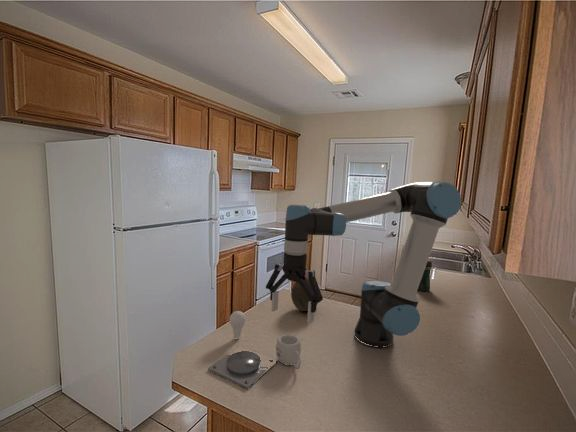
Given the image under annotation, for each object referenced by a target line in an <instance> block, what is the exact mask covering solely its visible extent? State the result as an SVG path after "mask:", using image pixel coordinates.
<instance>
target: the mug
mask: <svg viewBox="0 0 576 432" xmlns="http://www.w3.org/2000/svg"><path fill="white" fill-rule="evenodd" d="M301 343H302V342H301V340H300V337H298V336H296V335H295V334H290V333H289V334H282V335H280V336H279V337H278V338H277V340H276V345H275V353H276V357H277V361H278V362H279V361H280V362H281V363H283V364H287V365H291V364H293V365H291V366H294V368H295V369H297V370H300V368H301V363H302V361H301V356H300V355H301V351H302V344H301ZM280 362H279V363H280ZM297 362H298V363H297ZM281 363H280V364H281ZM296 363H297V364H296ZM283 364H282V365H283Z"/></svg>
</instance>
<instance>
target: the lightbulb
mask: <svg viewBox="0 0 576 432" xmlns="http://www.w3.org/2000/svg"><path fill="white" fill-rule="evenodd" d="M229 323H230V325H231V328H232V333H233V338H234V339H235V338H239V337H240V338H241V335H242V334H241V333H242V330H243V327H244V325H245V323H246V315H245V313H243V312H242V311H241V310H236V311H233V312H232V313H231V315H229ZM240 338H239V339H240Z"/></svg>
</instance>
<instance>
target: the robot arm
mask: <svg viewBox="0 0 576 432" xmlns="http://www.w3.org/2000/svg"><path fill="white" fill-rule="evenodd" d="M461 204H462V197H461V194H460V193H459V189H458V188H457V187H456V186H455V185H453V184H452V183H449V182H443V181H418V182H413V183H409V184H405V185H402V186H397V187H395V188H391V189H389V190H388V191H387V192H385V193H379V194H376V195H372V196H369V197H368V196H367V197H364V198H359V199H354V200H350V201H345V202H340V203H337V204H332V205H328V206H324V207H323V206H322V207H319V208H316V207H313V208H311V207H310V206H309V205H307V204H306V205H303V204H289V205H287V207H286V214H285V222H284V223H285V224H284V225H285V226H284V227H285V228H284V245H283V251H284V253H283V260H282V261H283V264H282V262H279V263H276V264H275V265H274V270H273V272H272V274H271V276H270V277H269V280H268V281H267V283H266V285H265V289H266V290H269V291H270V294H269V295H270V297H269V299H270V301H271V312H276V311H277V310H278V309H279V308H278V307H279V292H280V291H279V290H278V289H279V287H281V286H282V284H283V283H284V282H286V280H288V281H290V282H291V281H293V282H294V283H296V282H298V283H299V284H300V285H301V286H302V288H303V289H304V291H305V293H306V294H307V296H308V298H309V299H310V302H309V303H308V312H307V321H306V323H308V324H310V323H311V322H312V321H314V314H315V312H316V311H317V305H318V304H319V303H320V302H322V301H323V300H324V298H323V295H322V292H321V290H320V287H319V284H318V281H317V278H316V271H315V269H311V270H307V261H308V255H307V253H308V244H309V243H308V242H309V236H329V237H330V236H332V237H336V236H342V235H344V234H345V232H346V229H347V223H350V222H354V221H359V220H363V219H367V218H372V217H376V216H381V215H385V214H388V213H389V214H390V213H394V214H400V213H410V215H409V216H410V217H411V219H412V224H411V226H410V229H409V231H408V234H407V238H406V239H405V242H404V245H403V248H402V252H401V254H400V257H399V260H398V263H397V266H396V269H395V272H394V274H393V278H392V280H391V282H386V281H381V280H367V281H364V282H363V283H362V285H361V292H360V293H361V295H360V312H359V318H358V321H357V323H356V325H355V326H354V327H355V328H354V333H355V336H356V337H357V338H358V339H359V340H360V341H362V342H364V343H366V344H369V345H372V346H378V347H383V346H388V345H390V344H392V343H393V344H394V335H395V336H397V337H402V336H408V335H409V334H412V333H413V332H414V331H415V330H416V329H417V328H418V326H419V324H420V322H421V315H420V312H419V310H418V309H417V307H418V304H419V302H420V298H419V297H418V296H417V292H418V291H419V290H418V287H419V284H420V281H421V278H422V276H423V273H424V270H425V267H426V264H427V261H429V257H430V255H431V253H432V249H433V246H434V245H435V241H436V238H437V235H438V233H439V230H440V229H441V228H442V227H445V226H446V225H447V222H448V219H450V218H452V217H454V215H457V214H458V212H459V211H460V208H461ZM281 271H282V272H283V273H284V274H282V275H281V276H280V278H279V279H278V280H277V278H278V277H279V275H280V273H281ZM307 278H308V280H309V282H310V285H311V287H310V285H309V284H308V282H307ZM302 280H303V281H302ZM275 282H276V283H275ZM311 288H312V289H311ZM317 303H318V304H317ZM354 333H353V334H354ZM355 336H354V337H355ZM393 344H392V345H393Z"/></svg>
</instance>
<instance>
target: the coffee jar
mask: <svg viewBox="0 0 576 432" xmlns="http://www.w3.org/2000/svg"><path fill="white" fill-rule="evenodd" d="M432 268H433V264H432V261H431V260H428V261H427V264H426V267H425V270H424V273H423V276H422V278H421V281H420V284H419V287H418V290H417V291H420V292H429V291H430V290H431V270H432Z"/></svg>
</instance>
